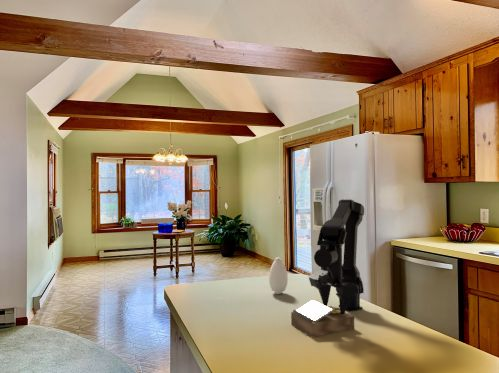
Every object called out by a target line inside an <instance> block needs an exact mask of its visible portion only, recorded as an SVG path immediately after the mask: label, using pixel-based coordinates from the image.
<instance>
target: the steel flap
mask: <svg viewBox="0 0 499 373" xmlns="http://www.w3.org/2000/svg"><path fill="white" fill-rule="evenodd" d="M295 310H296V311H298V312H300V313H302V314H304V315H306V316H307V317H309V318H311V319H312V321H314V322H317V321H318V320H320V319H321V318H323V317H324V316H326V315H327V314H329V313H330V312H332V311H333V310H332V309H331V308H329V307H328V305H327V306H324V305H323V303H320V302H318V301H316V300H313V299H312V300H310V301H309V302H307V303H305V304H304V305H302V306H301V307H299V308H298V309H295Z"/></svg>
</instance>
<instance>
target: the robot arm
mask: <svg viewBox="0 0 499 373" xmlns="http://www.w3.org/2000/svg"><path fill="white" fill-rule="evenodd" d="M364 207H365V206H364V205H363V204H362V203H359V202H357V201H354V199H353V200H352V199H341V200H340V199H339V200H338V205H337V208H336V210H335V211H334V213H333V216H332V217H331V218H330V219H328V220H326V221H325V222H324V223H323V224H322V226H321V227H320V230H319V234H318V239H317V243H316V245H317V246H319V249H317V250H316V251H315V252H314V256H313V258H314V259H313V260H314V262H315V264H316V265H317V266H318V267H320V270H317V271H315V272H314V273H312V274H310V275H308V279H309V282H310V286H311V287H314V288H315V289H317V290H318V293H319V296H320V298H321V302H322V305H324V306H327V307H328V304H329V300H330V299H329V298H330V295H331V288H332V287H334V288H335V292H336V293H335V295H336V296H337V297H338V300H339V304H338V308H340V312H341V314H344V313H345V312H346V311H347V312H349V311H350V312H351V311H352V312H353V311H357V310H358V311H359V310H362V309H363V307H362V306H361V305H360V304H361V301H360V300H361V299H360V298H361V296H360V295H361V294H364V284H363V280H362V278H361V273H360V270H359V268H358V267H357V247H358V231H359V230H358V228H359V226H360V225H361V223H362V221H363V216H364V215H365V208H364ZM343 245H344V247H343Z"/></svg>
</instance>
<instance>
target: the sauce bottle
mask: <svg viewBox="0 0 499 373" xmlns="http://www.w3.org/2000/svg"><path fill="white" fill-rule="evenodd" d="M279 254H280V253H279V252H277V257H275V258H274V260H273V262H272V264H271V266H270V269H269V274H268V281H269V282H268V283H269V287H270V289H271V291H273V293H274V294H276V293H277V294H276V295H280V293H281V294H283V292H285V291H286V289H287V287H288V286H287V285H288V280H289V279H288V272H287V268H286V265H285V263H284V262H283V261H282V258H281V257H280V255H279Z"/></svg>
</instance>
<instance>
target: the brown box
mask: <svg viewBox="0 0 499 373" xmlns="http://www.w3.org/2000/svg"><path fill="white" fill-rule="evenodd" d="M327 307H333V305H329V306H328V305H327ZM296 310H297V309H293V310H292V311H290V312H291V313H290V314H291V315H290V316H291V317H290V319H291V320H290V321H291V322H290V324H291V326H293V327H295V328H297V329H298V330H300V331H301V332H303V333H305V334H306V335H308V336H309V337H311V338H313V337H315V338H316V337H320V336H324V335H330V334H335V333H340V332H347V331H351V330H355V316H354V315H352V314H350V313H348V312H346V311H345V313H344V314H337V315H332V314H327V315H326V316H324V317H323V318H321V319H320V320H318V321H317V322H314V321H312V319H311V318H309V317H307V316H306V315H304V314H302V313H300V312H298V311H296Z"/></svg>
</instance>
